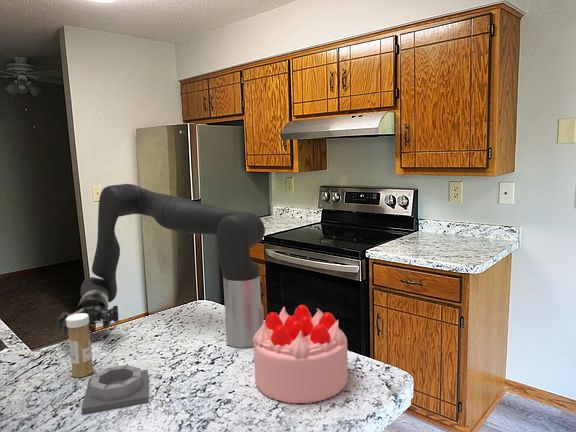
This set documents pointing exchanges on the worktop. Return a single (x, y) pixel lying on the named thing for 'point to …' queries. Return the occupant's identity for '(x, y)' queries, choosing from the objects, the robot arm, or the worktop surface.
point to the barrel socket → (116, 389)
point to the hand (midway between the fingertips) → (86, 326)
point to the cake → (300, 356)
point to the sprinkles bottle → (80, 344)
